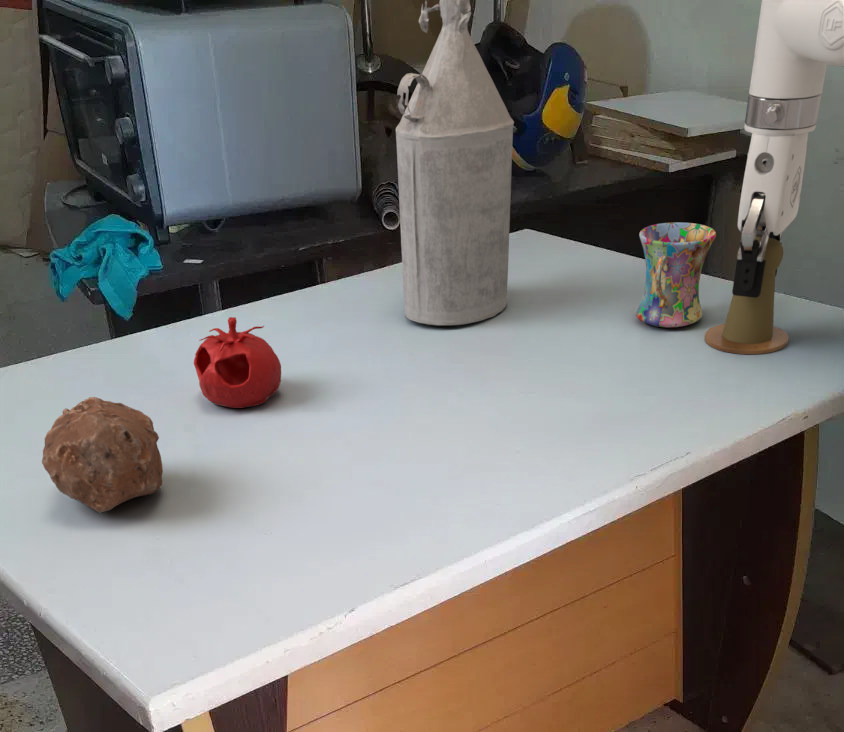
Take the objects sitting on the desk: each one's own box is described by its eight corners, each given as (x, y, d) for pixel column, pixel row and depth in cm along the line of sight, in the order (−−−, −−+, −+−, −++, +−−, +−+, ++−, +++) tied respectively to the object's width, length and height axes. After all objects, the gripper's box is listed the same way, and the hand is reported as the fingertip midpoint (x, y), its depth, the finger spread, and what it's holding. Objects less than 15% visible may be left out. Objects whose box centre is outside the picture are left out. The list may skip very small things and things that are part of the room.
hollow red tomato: (240, 376, 125) (226, 297, 119) (301, 391, 120) (291, 310, 114) (182, 404, 119) (165, 323, 113) (244, 421, 114) (230, 338, 108)
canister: (379, 321, 138) (351, -50, 112) (460, 286, 147) (451, -63, 121) (451, 339, 131) (439, -51, 105) (530, 301, 141) (538, -64, 114)
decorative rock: (177, 517, 98) (154, 417, 92) (59, 538, 96) (26, 438, 89) (164, 461, 108) (142, 367, 101) (56, 480, 106) (27, 385, 99)
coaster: (796, 331, 127) (796, 327, 127) (776, 359, 121) (777, 354, 120) (717, 322, 131) (718, 318, 131) (694, 348, 125) (694, 344, 124)
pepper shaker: (763, 346, 123) (780, 249, 115) (715, 339, 125) (728, 243, 118) (779, 330, 126) (796, 235, 119) (731, 324, 129) (745, 230, 122)
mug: (644, 305, 137) (652, 219, 130) (712, 312, 134) (724, 225, 127) (615, 335, 129) (622, 245, 122) (687, 343, 126) (698, 252, 119)
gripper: (798, 131, 103) (767, 313, 115) (834, 100, 114) (802, 268, 126) (725, 127, 106) (702, 305, 118) (767, 97, 117) (742, 262, 129)
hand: (754, 285), depth 122 cm, fingers open, 6 cm apart
